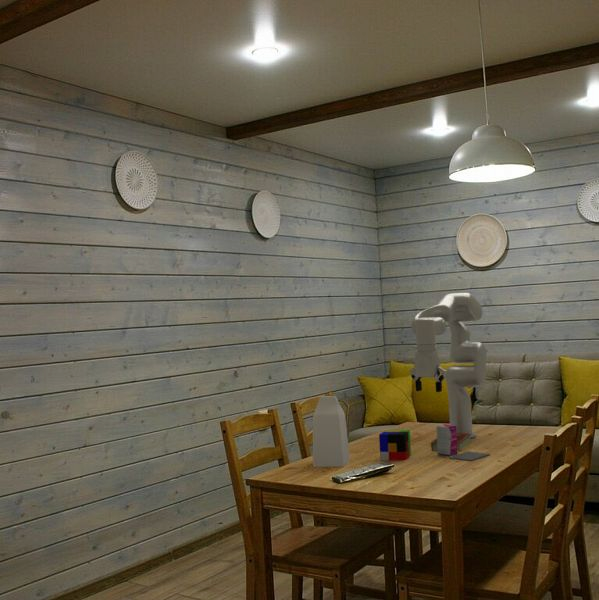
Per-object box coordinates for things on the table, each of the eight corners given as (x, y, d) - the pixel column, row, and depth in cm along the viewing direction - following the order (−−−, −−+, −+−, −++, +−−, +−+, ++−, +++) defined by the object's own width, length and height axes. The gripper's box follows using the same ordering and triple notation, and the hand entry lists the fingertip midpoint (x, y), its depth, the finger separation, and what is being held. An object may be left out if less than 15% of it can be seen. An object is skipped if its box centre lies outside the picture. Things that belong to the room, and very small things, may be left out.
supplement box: (449, 456, 287) (447, 427, 288) (437, 454, 292) (435, 425, 292) (458, 454, 291) (456, 424, 291) (446, 452, 296) (444, 423, 296)
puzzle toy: (380, 460, 288) (379, 434, 288) (386, 455, 297) (385, 430, 298) (405, 460, 285) (404, 434, 285) (411, 455, 294) (409, 430, 294)
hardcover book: (431, 451, 302) (430, 441, 302) (444, 442, 321) (443, 432, 321) (460, 452, 297) (460, 441, 297) (471, 442, 316) (471, 432, 316)
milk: (313, 466, 283) (309, 398, 284) (320, 460, 294) (316, 395, 295) (343, 466, 280) (339, 397, 280) (349, 460, 291) (346, 394, 291)
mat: (449, 458, 283) (449, 457, 283) (467, 452, 293) (467, 451, 293) (471, 461, 276) (471, 459, 276) (490, 455, 285) (490, 453, 285)
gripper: (403, 349, 302) (405, 391, 301) (439, 349, 289) (441, 393, 289) (414, 348, 307) (416, 389, 306) (449, 348, 295) (452, 391, 294)
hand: (428, 391), depth 298 cm, fingers open, 9 cm apart
